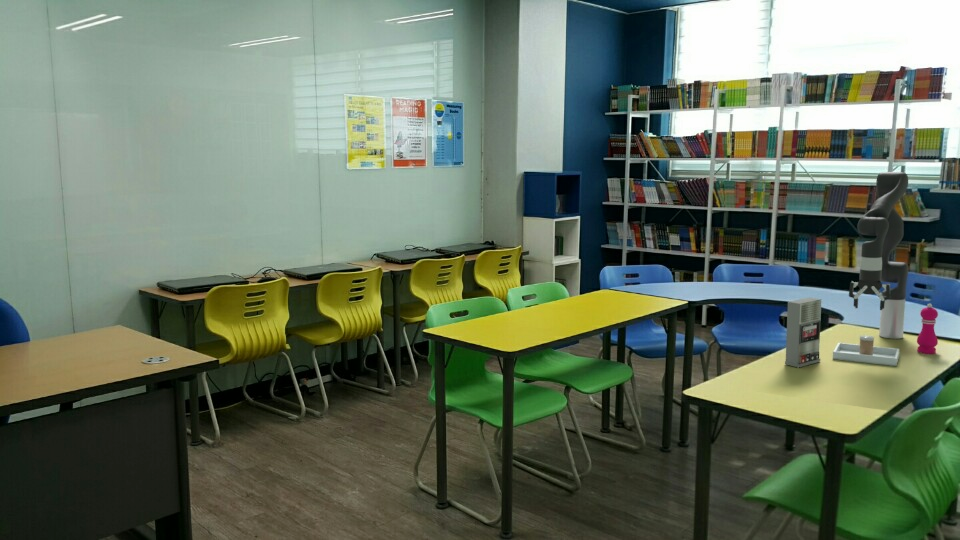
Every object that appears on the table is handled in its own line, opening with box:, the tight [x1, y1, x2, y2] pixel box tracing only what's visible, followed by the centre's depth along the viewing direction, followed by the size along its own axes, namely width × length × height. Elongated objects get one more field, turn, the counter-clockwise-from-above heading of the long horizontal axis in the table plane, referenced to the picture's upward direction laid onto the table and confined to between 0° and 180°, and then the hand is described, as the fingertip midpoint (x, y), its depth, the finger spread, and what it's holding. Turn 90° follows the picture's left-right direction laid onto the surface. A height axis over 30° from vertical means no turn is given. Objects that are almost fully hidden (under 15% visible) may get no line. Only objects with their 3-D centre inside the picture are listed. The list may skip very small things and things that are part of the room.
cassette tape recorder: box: [784, 297, 822, 369], centre depth 279 cm, size 14×6×25 cm, turn 122°
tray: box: [832, 342, 900, 367], centre depth 287 cm, size 16×22×3 cm
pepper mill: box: [916, 303, 939, 355], centre depth 291 cm, size 7×7×20 cm
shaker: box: [859, 334, 875, 355], centre depth 286 cm, size 5×5×8 cm
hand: (868, 308), depth 284 cm, fingers open, 8 cm apart
